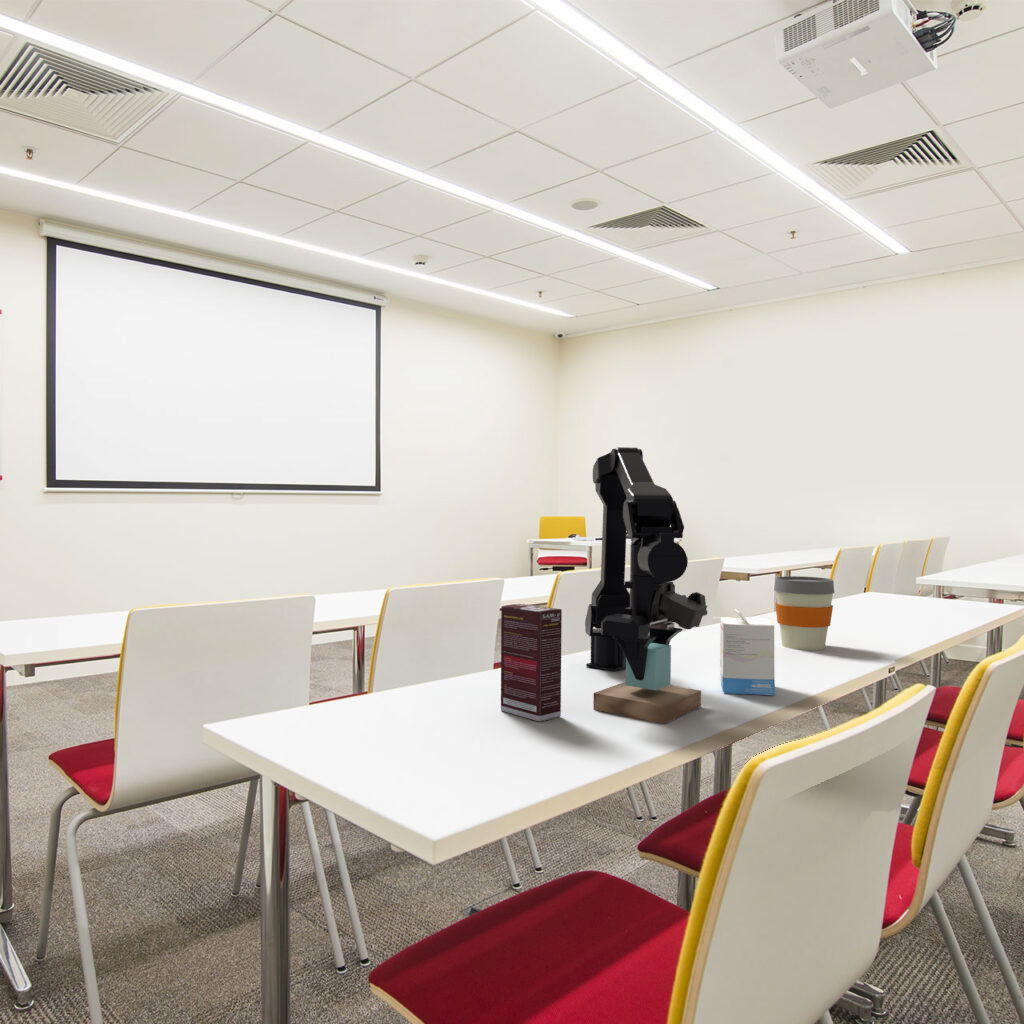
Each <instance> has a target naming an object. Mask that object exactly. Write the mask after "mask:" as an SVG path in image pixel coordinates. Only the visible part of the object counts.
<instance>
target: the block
mask: <svg viewBox="0 0 1024 1024" xmlns="http://www.w3.org/2000/svg"><path fill="white" fill-rule="evenodd" d="M671 663H672V645H671V644H669V645H665V644H657V643H651V644H650V645H649V646H648V650H647V658H646V667H645V673H644V679H643V680H637V679H636V678H635V676H634V674H633V671H632V669H631V667H630V665H629V663H628V660H627V658H626V667H625V682H626V685H628V686H633V687H639V688H645V689H650V690H657V689H660V688H662V687H665V686H667V685H671V682H672V681H671V677H672V676H671V673H672V672H671V671H672V668H671V667H672V664H671Z"/></svg>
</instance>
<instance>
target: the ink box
mask: <svg viewBox="0 0 1024 1024" xmlns="http://www.w3.org/2000/svg"><path fill="white" fill-rule="evenodd" d="M734 611H735V612H736V613H737V614H738V615H739V617H726V616H725V617H724V616H721V617H720V637H719V639H720V641H719V642H720V644H719V647H720V649H719V684H720V686H721V689H722V692H723V694H734V695H736V694H737V695H758V696H759V695H760V696H761V695H763V696H775V694H776V693H775V690H776V689H775V688H776V687H775V683H776V681H775V680H776V679H775V675H776V674H775V625H774V623H773V622H772V620H771V619H769V618H766V617H765V618H763V617H762V618H761V617H746V616H745V615H744V614H742V612H740V611H739V610H738V609H737V607H736V608H734Z"/></svg>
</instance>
